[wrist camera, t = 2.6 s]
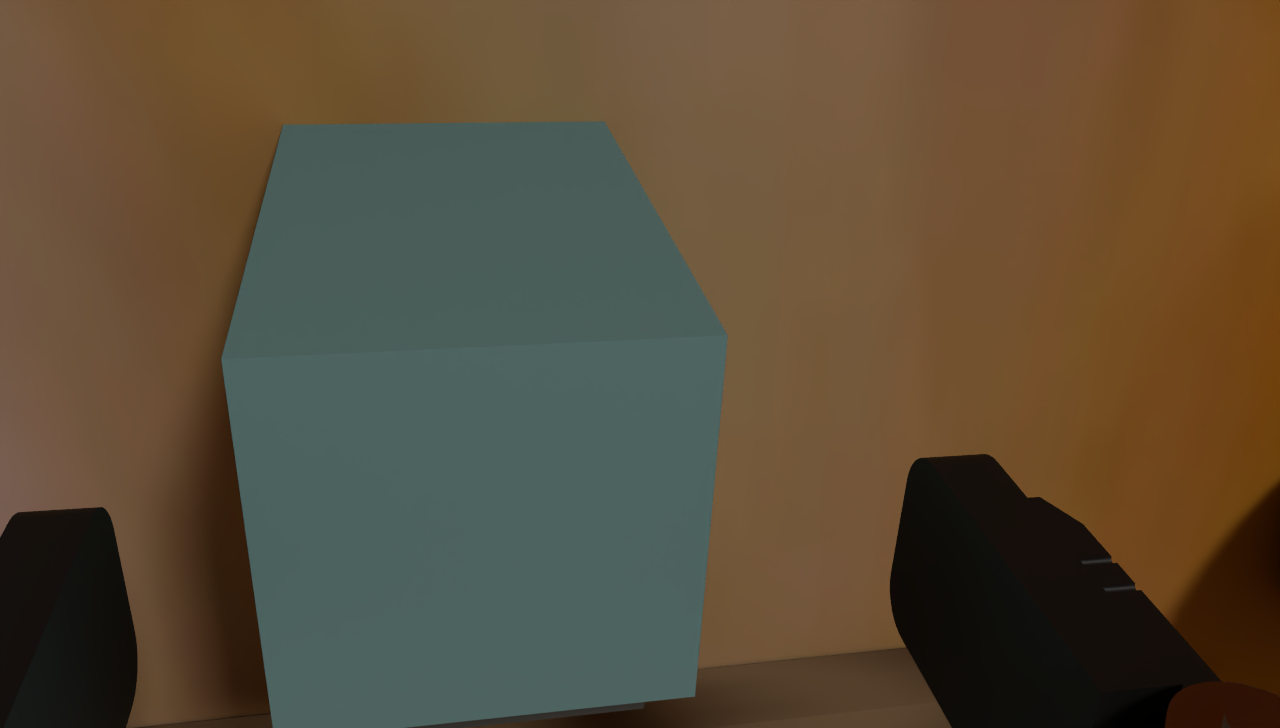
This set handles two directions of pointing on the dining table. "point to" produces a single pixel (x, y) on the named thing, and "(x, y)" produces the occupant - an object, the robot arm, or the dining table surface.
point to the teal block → (470, 428)
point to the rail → (760, 699)
